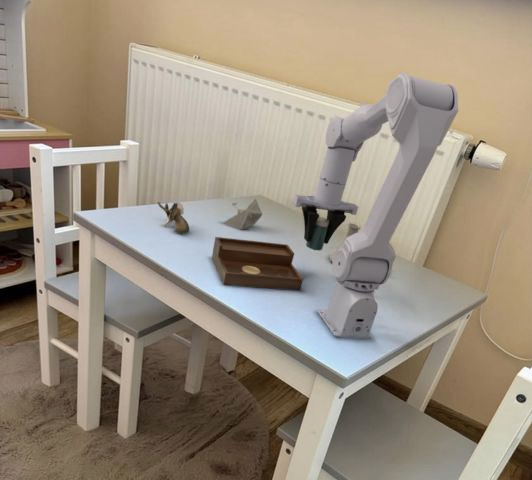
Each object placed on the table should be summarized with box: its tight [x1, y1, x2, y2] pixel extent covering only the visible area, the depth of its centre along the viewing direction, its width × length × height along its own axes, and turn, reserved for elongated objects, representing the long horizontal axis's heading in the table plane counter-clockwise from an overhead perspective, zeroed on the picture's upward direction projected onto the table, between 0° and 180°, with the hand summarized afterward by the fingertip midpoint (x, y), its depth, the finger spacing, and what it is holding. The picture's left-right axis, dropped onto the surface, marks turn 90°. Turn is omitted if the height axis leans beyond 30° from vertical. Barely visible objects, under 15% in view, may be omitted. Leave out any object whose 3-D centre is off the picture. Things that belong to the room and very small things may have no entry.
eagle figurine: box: [157, 201, 190, 235], centre depth 125 cm, size 8×7×9 cm
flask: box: [329, 222, 362, 263], centre depth 129 cm, size 7×7×10 cm
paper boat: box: [222, 198, 263, 230], centre depth 138 cm, size 12×6×9 cm
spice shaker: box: [305, 216, 329, 251], centre depth 114 cm, size 4×4×6 cm
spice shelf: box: [211, 236, 304, 291], centre depth 112 cm, size 13×17×5 cm
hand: (315, 241), depth 115 cm, fingers closed on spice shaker, 4 cm apart
